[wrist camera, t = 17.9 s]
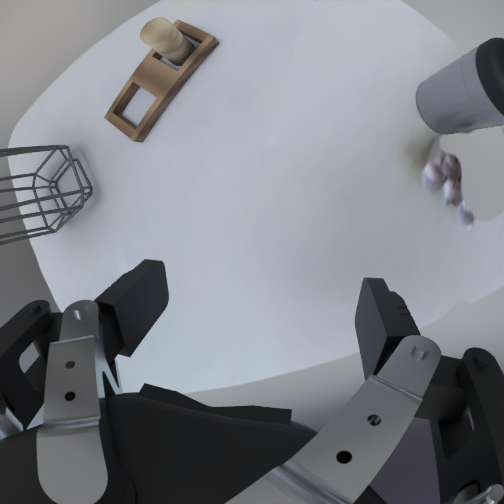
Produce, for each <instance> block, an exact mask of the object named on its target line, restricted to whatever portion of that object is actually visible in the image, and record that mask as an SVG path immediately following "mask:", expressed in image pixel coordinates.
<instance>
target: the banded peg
mask: <svg viewBox="0 0 504 504" xmlns="http://www.w3.org/2000/svg"><path fill="white" fill-rule="evenodd" d="M140 39H141V40H142V42H144V43H145V44H146V45H148V46H149V47H151V48H152V49H154V50H155V51H156V52H158V53H159V54H160V55H162V56H163V57H165V58H166V59H167V60H169V61H170V62H171V63H173V64H174V65H176V66H182V65H183V64H184V63H185V61H186V60H187V59H188V58H189V57H190V56H191V54H192V53H193V52H194V51H195V50H196V49H195V47H194V46H193V45H192V44H191V43H190V41H189V40H188V39H187V38H186V37H185V36H184V35H183V34H182V33H181V32H180V31H179V30H178V29H177V28H176V27H175V26H174V25H173V24H172V23H171V22H170V21H169V20H168V19H167V18H164V17H158V18H154V19H152V20H150V21H149V22H148V23H146V24H145V25H144V27H143V28H142V30H141V33H140Z"/></svg>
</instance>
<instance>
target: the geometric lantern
mask: <svg viewBox="0 0 504 504" xmlns="http://www.w3.org/2000/svg"><path fill="white" fill-rule="evenodd" d="M61 149H67V152H68V156H69V159H67V157H66V156H65V154H64V153H63V151H62V150H61ZM50 150H53V151H52V152H51V153H50V155H49V156H48V157H47V158H46V159H45V161H44V162H43V163H42V164H41V166H40V167H39V168H38V169H37V171H36V172H35V173H30V174H23V175H16V176H9V177H3V178H0V181H4V180H9V179H15V178H22V177H28V176H34V177H33V184H32V187H22V188H13V189H3V190H0V193H2V192H11V191H20V190H32V189H33V192H34V195H35V198H36V199H32V200H28V201H23V202H19V203H15V204H11V205H7V206H3V207H0V211H3V210H7V209H11V208H15V207H19V206H23V205H27V204H31V203H36V202H37V204H38V207H39V209H40V212H36V213H30V214H24V215H19V216H13V217H9V218H4V219H0V223H4V222H9V221H13V220H19V219H24V218H29V217H35V216H40V215H42V218H43V220H44V223H45V225H46V227H41V228H35V229H30V230H24V231H19V232H14V233H9V234H4V235H0V239H1V238H5V237H10V236H15V235H19V234H25V233H30V232H35V231H40V230H45V229H48V230H50V231H46V232H41V233H36V234H32V235H27V236H23V237H18V238H14V239H10V240H5V241H1V242H0V245H3V244H7V243H11V242H15V241H20V240H24V239H28V238H32V237H37V236H41V235H46V234H51V233H56V232H57V231H58V230H59V229H60V228H61V227H62V226H63V225H64V224H65V223H67V222H68V221H69V220H70V219H71V218H72V217H73V216H74V215H75V214H77V213H78V212H79V211H80V210H81V209H82V208H83V206H84V202H85V201H86V200H87V199H88V198H89V197H90V196H91V194H92V186H91V185H90V183H89V181H88V179H87V177H86V175H85V173H84V171H83V169H82V167H81V165H80V163H79V161H78V159H73V158H72V155H71V152H70V149H69V146H67V145H49V146H32V147H19V148H8V149H0V157H3V156H10V155H17V154H24V153H32V152H40V151H50ZM56 150H60V152H61V153H62V155H63V156H64V158H65V159H66V160H65V161H64V163H63V164H62V165H61V167H60V168H59V169H58V171H57V172H56V173H55V175H54V176H53V177H52V179H51V180H50V181H49V180H47V179H45V178H43V177H41V176H39V175H37V173H38V172H39V171H40V169H41V168H42V167H43V166H44V164H45V163H46V162H47V161H48V160H49V158H50V157H51V156H52V155H53V154H54V153H55V151H56ZM3 152H6V153H3ZM67 161H70V163H69V164H68V165H67V167H66V168H65V169H64V170H63V172H62V173H61V174H60V175H59V177H58V178H57V179H56V181H52V180H53V179H54V178H55V176H56V175H57V173H58V172H59V171H60V169H61V168H62V167H63V165H64V164H65V163H66V162H67ZM74 161H77V163H78V165H79V167H80V169H81V171H82V173H83V175H84V177H85V179H86V181H87V183H88V185H89V186H87V187H83V185H82V183H81V181H80V178H79V176H78V173H77V170H76V167H75V164H74ZM70 165H71V166H72V168H73V171H74V173H75V176H76V179H77V182H78V185H79V187H80V190H77V191H72V192H67V193H61V194H60V193H59V191H58V188H57V181H58V179H59V178H60V177H61V176H62V174H63V173H64V172H65V171H66V169H67V168H68V167H69V166H70ZM36 176H37V177H39V178H41V179H43V180H45V181H47V182H49V186H41V187H34V186H35V179H36ZM51 183H55V186H52V187H50V185H51ZM40 188H49V190H50V192H51V194H52V195H51V196H46V197H41V198H38V196H37V193H36V190H35V189H40ZM51 188H56V190H57V192H58V194H56V195H54V194H53V192H52V190H51ZM88 188H90V192H87V193H84V189H88ZM78 193H81V195H80V196H79V198H78V199H77V200H76V201H75V202H74V203H73V204H72V206H71V207H68V208H67V207H66V205H65V203H64V201H63V199H62V197H64V196H69V195H74V194H78ZM87 194H89V195H88V196H87V197H86V198H85V199H84V195H87ZM59 197H60V199H61V201H62V203H63V205H64V207H65V208H61V209H60V207H59V205H58V203H57V201H56V199H55V198H59ZM80 198H81V203H80V205H79V206H75V207H73V206H74V205H75V204H76V203H77V202H78V200H79V199H80ZM49 199H54V201H55V203H56V205H57V207H58V209H55V210H48V211H43V210H42V208H41V205H40V201H45V200H49ZM70 210H74V211H73V212H72V213H69V211H70ZM64 211H67V212H65V213H62V212H64ZM58 212H60V213H61V215H60V216H59V217H58V218H57V219H56V220H55V221H54V222H53V223H52V224H51V225H50V226H48V223H47V221H46V218H45V216H44V215H46V214H52V213H58ZM67 215H70V216H69V217H68V218H67V219H66V220H65V221H63V219H64V217H65V216H67ZM61 216H63V217H62V219H61V221H60V223H59V224H58V226H57V228H56V229H55V230H54V229H52V228H50V227H51V226H52V225H53V224H54V223H55V222H56V221H57V220H58V219H59V218H60V217H61ZM62 221H63V222H62Z"/></svg>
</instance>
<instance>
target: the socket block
mask: <svg viewBox="0 0 504 504" xmlns="http://www.w3.org/2000/svg"><path fill="white" fill-rule="evenodd" d="M173 25H174V26H175V27H176V28H177V29H178V30H179V31H180V32H181V33H182V34H183V35H185V36H187V37H189V38H191V39H193V40H195V41H197V42H199V43H201V44H200V45H199V46H198V48H197V49H196V50H195V51H194V52H193V53H192V54H191V56H190V57H189V58H188V59H187V60H186V61H185V63H184V64H183V65H182V66H181V68H180V69H179V70H178V71H176V70H175V69H173V68H171V67H170V66H168V65H166V64H164V63H163V62H161V61H159V60H160V59H161V57H162V55H160V54H159V53H158V52H156V51H155V50H154V49H151V51H150V52H149V53H148V54H147V56H146V57H145V58H144V60H143V61H142V62H141V63H140V65H139V66H138V67H137V69H136V70H135V72H134V73H133V74H132V76H131V77H130V78H129V80H128V81H127V83H126V84H125V86H124V87H123V89H122V90H121V92H120V93H119V95H118V96H117V98H116V99H115V101H114V102H113V104H112V105H111V107H110V109H109V110H108V112H107V114H106V115H105V117H104V118H105V119H106V120H108V121H109V122H110V123H111V124H113V125H114V126H115V127H116V128H118V129H119V130H120V131H122V132H123V133H124V134H125V135H127V136H128V137H129V138H130V139H132V140H133V141H134V142H143V140H144V139H145V137H146V136H147V134H148V133H149V131H150V130H151V128H152V127H153V125H154V124H155V122H156V121H157V120H158V118H159V117H160V115H161V114H162V113H163V111H164V110H165V108H166V107H167V106H168V104H169V103H170V102H171V100H172V99H173V98H174V96H175V95H176V94H177V92H178V91H179V90H180V88H181V87H182V86H183V85H184V83H185V82H186V81H187V80H188V78H189V77H190V76H191V75H192V73H193V72H194V71H195V70H196V69H197V67H198V66H199V65H200V64H201V63H202V62H203V60H204V59H205V58H206V57H207V56H208V55H209V54H210V53H211V51H212V50H213V49H214V48H215V47H216V46H217V45H218V44H219V43H218V41H217V40H216V38H215V37H214V36H212V35H210V34H208V33H206V32H204V31H202V30H200V29H198V28H195V27H193V26H191V25H189V24H187V23H185V22H182V21H180V20H178V19H177V21H176V22H175V23H174V24H173ZM139 86H141V87H142V88H144V89H145V90H147V91H148V92H150V93H151V94H153V95H154V96H156V97H157V99H156V100H155V101H154V103H153V104H152V106H151V107H150V109H149V110H148V111H147V113H146V114H145V116H144V117H143V119H142V120H141V122H140V123H139V125H138V126H137V127H136V126H135V125H134V124H132V123H131V122H130V121H128V120H127V119H126V118H124V117H123V116H122V115H121V113H122V112H123V110H124V108H125V107H126V105H127V104H128V102H129V101H130V99H131V98H132V96H133V95H134V94H135V92H136V91H137V89H138V88H139Z"/></svg>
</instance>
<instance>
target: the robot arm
mask: <svg viewBox="0 0 504 504" xmlns="http://www.w3.org/2000/svg"><path fill="white" fill-rule="evenodd" d="M416 102H417V106H418V110H419V112H420V114H421V116H422V118H423V119H424V121H425V122H426V123H427V124H428V125H429V126H430V127H431V128H432V129H433V130H435V131H437V132H439V133H441V134H454V133H459V132H465V131H471V130H476V129H482V128H488V127H495V126H501V125H504V39H503V38H492V39H490V40H488V41H486V42H484V43H483V44H481V45H479V46H478V47H476V48H475V49H473V50H471V51H470V52H468V53H467V54H465V55H464V56H462V57H461V58H459V59H457V60H456V61H454V62H453V63H451V64H450V65H448V66H447V67H445V68H443V69H442V70H440V71H439V72H437V73H436V74H434V75H433V76H431V77H430V78H428V79H427V80H425V81H424V82H422V83H421V85H420V86H419V88H418V90H417V95H416ZM168 300H169V293H168V286H167V279H166V272H165V266H164V263H163V262H162V261H158V260H148V259H145V260H143V261H142V262H141V263H140V264H139V265H138V266H136V267H135V268H134V269H133V270H131V271H129V272H127V273H125V274H123V275H122V276H121V277H120V278H119V279H117V282H116V281H115V282H114V283H113V284H112V285H111V287H108V288H107V289H106V290H105V291H104V292H103V293H102V294H101V295H100V296H98V297H97V298H96V299H95V300H94V301H92V300H80V301H77V302H74V303H72V304H71V305H69V306H68V307H67V308H66V309H65V310H64V313H52V310H51V307H50V304H49V302H47V301H45V300H37V301H34V302H31V303H29V304H27V305H26V306H25V307H23V308H22V309H21V310H20V311H19V312H18V313H17V314H16V315H14V316H13V317H12V318H11V319H10V320H9V321H8V322H7V323H6V324H4V325H3V326H2V327H1V328H0V504H387V503H386V502H385V501H384V500H383V499H382V498H381V497H380V496H379V495H378V494H377V493H376V492H375V490H374V489H373V488H372V487H371V486H370V485H369V483H370V482H371V481H372V479H373V478H374V477H375V475H376V474H377V473H378V471H379V470H380V469H381V467H382V466H383V465H384V463H385V462H386V460H387V459H388V457H389V456H390V454H391V453H392V451H393V450H394V448H395V447H396V445H397V444H398V442H399V441H400V439H401V437H402V436H403V434H404V432H405V431H406V429H407V427H408V426H409V424H410V422H411V420H412V419H413V417H419V418H424V419H429V422H430V427H431V433H432V438H433V444H434V450H435V457H436V463H437V471H438V480H439V492H440V504H504V375H503V373H502V371H501V369H500V367H499V365H498V363H497V361H496V359H495V358H494V356H493V355H491V353H489V352H488V351H486V350H484V349H481V348H469V349H468V350H466V351H465V353H464V355H463V357H462V359H457V358H451V357H447V356H443V355H441V350H440V348H439V347H438V345H437V344H436V343H435V342H434V341H432V340H431V339H429V338H427V337H424V336H421V334H420V332H419V330H418V328H417V326H416V324H415V322H414V320H413V318H412V316H411V314H410V312H409V310H408V309H407V306H406V304H405V302H404V300H403V298H401V297H400V296H399V295H398V294H397V293H396V292H391V291H389V289H388V287H387V285H386V283H385V281H384V279H382V278H366V277H365V278H364V279H363V282H362V287H361V292H360V296H359V301H358V305H357V310H356V315H355V328H356V333H357V338H358V343H359V348H360V354H361V358H362V365H363V370H364V376H365V383H364V384H363V385H362V386H361V387H360V389H359V390H358V391H357V392H356V393H355V394H354V396H353V397H352V398H351V399H350V400H349V401H348V402H347V404H346V405H345V406H344V407H343V408H342V409H341V410H340V411H339V412H338V413H337V414H336V415H335V416H334V418H333V419H332V420H331V421H330V422H329V423H328V424H327V425H326V426H325V427H324V428H323V429H322V430H321V431H320V432H319V433H318V432H316V431H315V430H313V429H311V428H309V427H307V426H306V425H303V424H301V423H298V422H295V421H292V420H291V412H292V410H290V409H280V408H270V407H261V406H253V405H252V406H234V407H210V406H207V405H204V404H202V403H200V402H198V401H196V400H193V399H191V398H189V397H187V396H185V395H183V394H181V393H179V392H177V391H172V390H168V389H164V388H160V387H157V386H153V385H149V384H146V383H144V385H143V387H142V388H141V390H140V392H139V393H138V392H135V393H123V391H122V385H121V380H120V375H119V369H118V363H117V360H116V358H115V357H116V356H117V355H118V354H120V355H123V356H127V357H130V356H131V355H132V354H133V352H134V351H135V349H136V348H137V347H138V345H139V344H140V343H141V341H142V340H143V338H144V337H145V336H146V334H147V333H148V332H149V330H150V329H151V328H152V326H153V325H154V323H155V322H156V321H157V319H158V318H159V317H160V315H161V314H162V313H163V311H164V310H165V309H166V307H167V305H168ZM32 342H33V344H34V346H35V348H36V350H37V352H38V354H39V357H38V358H37V359H36V361H35V362H34V363H33V364H32V365H31V366H30V368H29V369H28V370H27V371H26V372H25V373H23V371H22V370H21V368H20V365H19V358H20V356H21V354H22V353H23V352H24V351H25V350H26V349H27V347H28V346H29V345H30V344H31V343H32ZM43 404H44V422H43V424H41V425H38V426H36V427H33V428H30V429H27V427H28V426H29V424H30V423H31V421H32V420H33V418H34V417H35V415H36V414H37V412H38V411H39V409H40V408H41V406H42V405H43ZM469 411H470V412H471V415H472V419H473V422H474V431H473V430H472V426H471V423H470V419H469V416H468V413H469ZM26 429H27V430H26Z"/></svg>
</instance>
